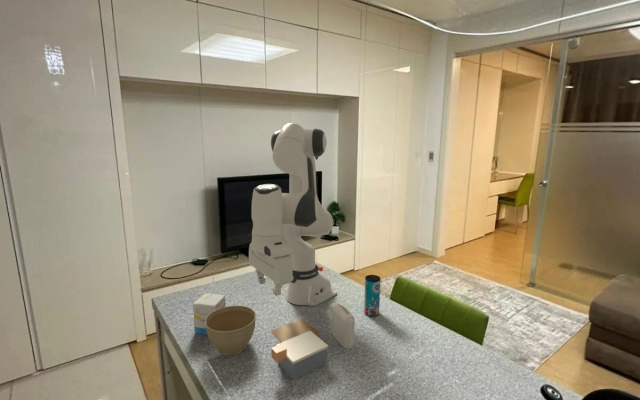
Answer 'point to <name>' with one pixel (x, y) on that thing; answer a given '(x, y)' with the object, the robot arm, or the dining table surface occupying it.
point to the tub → (304, 364)
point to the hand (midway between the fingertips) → (269, 288)
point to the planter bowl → (230, 328)
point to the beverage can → (372, 295)
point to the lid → (298, 348)
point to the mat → (293, 330)
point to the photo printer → (343, 325)
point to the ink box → (206, 310)
